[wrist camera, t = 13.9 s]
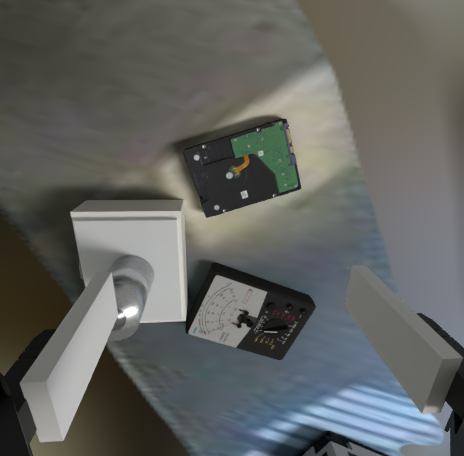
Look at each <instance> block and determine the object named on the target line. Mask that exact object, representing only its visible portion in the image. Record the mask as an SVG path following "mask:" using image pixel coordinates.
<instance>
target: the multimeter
mask: <svg viewBox="0 0 464 456" xmlns="http://www.w3.org/2000/svg"><path fill="white" fill-rule="evenodd" d="M315 307H316V306H315V303H314V301H313V300H312V298H311V297H310V296H309V295H306V294H303V293H300V292H298V291H295V290H292V289H289V288H286V287H283V286H281V285H278V284H275V283H272V282H269V281H266V280H264V279H261V278H258V277H255V276H252V275H249V274H247V273H244V272H241V271H238V270H235V269H232V268H230V267H227V266H224V265H221V264H218V263H214V264H213V265H212V267H211V269H210V271H209V274H208V276H207V278H206V280H205V282H204V284H203V286H202V288H201V290H200V293H199V295H198V297H197V299H196V301H195V303H194V305H193V307H192V309H191V312H190V314H189V316H188V318H187V321H186V333H188V334H190V335H193V336H197V337H200V338H204V339H207V340H211V341H214V342H218V343H221V344H225V345H228V346H232V347H235V348H239V349H242V350H246V351H249V352H253V353H256V354H260V355H263V356H267V357H270V358H274V359H277V360H282V359H283V358H284V356H285V355H286V353H287V352H288V350H289V348H290V347H291V345H292V344H293V342H294V341H295V339H296V338H297V336H298V334H299V333H300V331H301V330H302V328H303V327H304V325H305V324H306V322H307V320H308V319H309V317H310V316H311V314H312V313H313V311H314V310H315Z"/></svg>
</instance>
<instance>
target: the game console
mask: <svg viewBox="0 0 464 456" xmlns="http://www.w3.org/2000/svg"><path fill="white" fill-rule="evenodd" d="M303 456H388V455H385V454H383V453H380V452H378V451H376V450H373V449H371V448H369V447H366V446H364V445H362V444H359V443H357V442H354V441H352V440H350V439H347V438H345V437H343V436H340V435H338V434H336V433H333V432H331V431H329V432H328V433H327V434H325V435H324V436H323V437H322V438H321V439H320V440H319V441H318V442H317V443H316V444H315V445H313V446H312V447H311V448H310V449H309V450H308V451H307V452H306V453H305V454H304V455H303Z"/></svg>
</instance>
